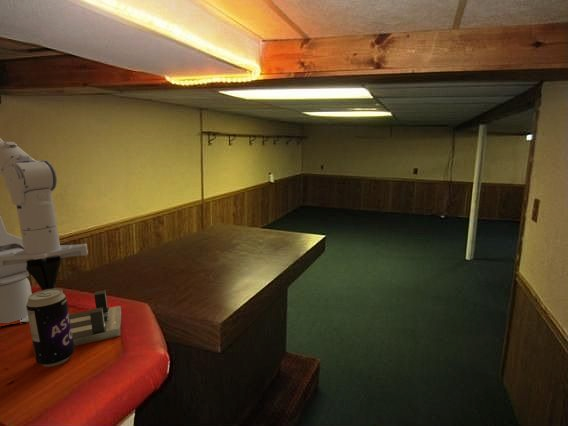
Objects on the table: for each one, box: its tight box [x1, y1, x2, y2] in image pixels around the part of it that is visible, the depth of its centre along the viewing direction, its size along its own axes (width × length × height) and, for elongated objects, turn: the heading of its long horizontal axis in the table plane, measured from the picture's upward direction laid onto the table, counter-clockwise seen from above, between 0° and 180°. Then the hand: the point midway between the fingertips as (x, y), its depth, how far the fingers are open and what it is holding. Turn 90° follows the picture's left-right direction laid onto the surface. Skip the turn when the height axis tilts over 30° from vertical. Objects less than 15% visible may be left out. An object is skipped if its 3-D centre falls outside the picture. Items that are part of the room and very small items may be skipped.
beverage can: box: [26, 287, 75, 368], centre depth 63 cm, size 6×6×12 cm
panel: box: [33, 289, 122, 353], centre depth 74 cm, size 13×14×6 cm
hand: (50, 296), depth 72 cm, fingers closed
